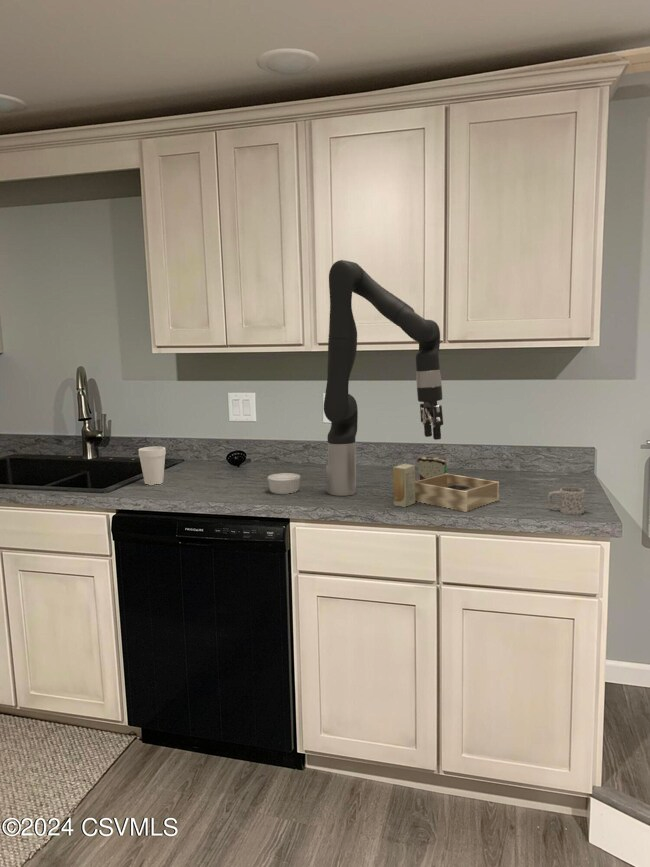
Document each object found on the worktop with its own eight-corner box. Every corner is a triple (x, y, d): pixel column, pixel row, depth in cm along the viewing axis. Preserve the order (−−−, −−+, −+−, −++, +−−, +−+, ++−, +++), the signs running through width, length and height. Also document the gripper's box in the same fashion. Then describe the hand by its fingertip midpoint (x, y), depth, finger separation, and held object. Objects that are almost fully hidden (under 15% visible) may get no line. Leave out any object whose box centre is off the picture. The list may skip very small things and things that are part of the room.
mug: (583, 509, 198) (584, 487, 197) (584, 515, 192) (585, 492, 191) (547, 507, 201) (548, 485, 200) (547, 513, 195) (547, 490, 194)
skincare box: (404, 501, 212) (403, 463, 210) (415, 503, 209) (415, 464, 207) (392, 505, 207) (392, 466, 205) (404, 507, 204) (404, 468, 202)
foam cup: (172, 482, 246) (170, 447, 244) (152, 487, 239) (150, 451, 237) (155, 479, 252) (153, 445, 250) (135, 484, 244) (133, 449, 242)
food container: (456, 485, 232) (456, 457, 230) (446, 489, 227) (446, 460, 226) (425, 481, 240) (425, 453, 238) (416, 484, 235) (416, 456, 234)
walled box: (412, 500, 212) (411, 482, 211) (446, 491, 224) (446, 473, 223) (465, 512, 198) (465, 492, 197) (498, 500, 210) (499, 482, 209)
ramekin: (283, 497, 221) (282, 481, 221) (261, 492, 229) (260, 476, 228) (307, 490, 229) (307, 475, 229) (285, 486, 237) (284, 471, 236)
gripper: (410, 386, 212) (414, 437, 214) (424, 387, 198) (428, 441, 200) (433, 383, 213) (436, 434, 215) (448, 384, 199) (452, 439, 201)
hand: (432, 437), depth 207 cm, fingers open, 8 cm apart
